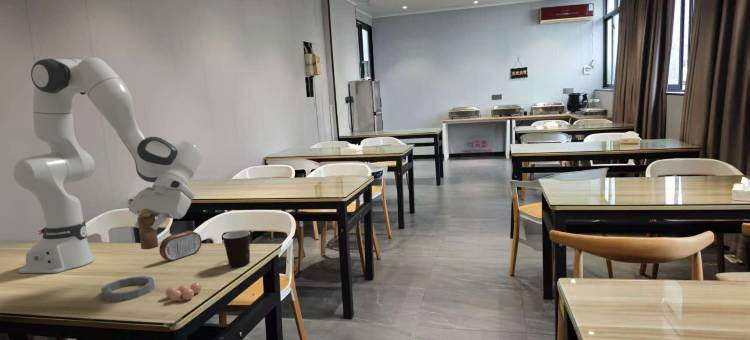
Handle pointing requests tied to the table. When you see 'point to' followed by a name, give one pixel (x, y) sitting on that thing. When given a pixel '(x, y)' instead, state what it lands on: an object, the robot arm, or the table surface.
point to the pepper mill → (147, 230)
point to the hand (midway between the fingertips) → (145, 228)
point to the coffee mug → (237, 248)
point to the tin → (180, 245)
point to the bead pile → (183, 292)
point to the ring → (128, 294)
